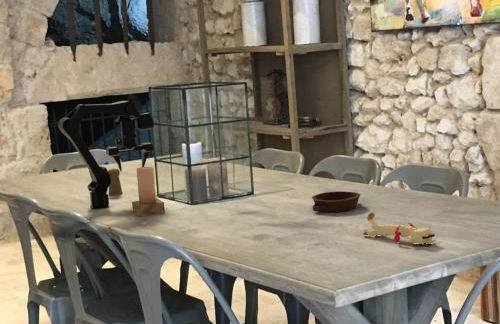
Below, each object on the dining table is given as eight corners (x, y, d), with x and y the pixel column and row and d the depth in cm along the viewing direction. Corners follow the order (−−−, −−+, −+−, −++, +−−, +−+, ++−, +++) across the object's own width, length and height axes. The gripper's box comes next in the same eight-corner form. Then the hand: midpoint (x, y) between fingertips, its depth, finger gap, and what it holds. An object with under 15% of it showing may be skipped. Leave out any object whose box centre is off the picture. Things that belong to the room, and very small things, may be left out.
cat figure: (359, 243, 274) (423, 248, 255) (356, 215, 273) (419, 218, 254) (380, 236, 280) (444, 241, 261) (377, 209, 279) (441, 212, 260)
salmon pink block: (141, 204, 331) (138, 170, 329) (137, 201, 337) (134, 168, 335) (157, 202, 333) (155, 168, 331) (153, 199, 339) (151, 166, 337)
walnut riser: (139, 216, 330) (138, 206, 329) (132, 211, 339) (131, 201, 338) (164, 212, 333) (163, 202, 332) (157, 208, 342) (156, 198, 342)
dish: (374, 205, 321) (374, 192, 320) (334, 217, 306) (333, 203, 306) (338, 200, 334) (338, 188, 333) (298, 212, 319) (297, 198, 318)
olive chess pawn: (119, 195, 376) (117, 169, 374) (106, 195, 377) (104, 170, 376) (124, 192, 382) (122, 167, 380) (111, 192, 383) (109, 168, 381)
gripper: (145, 127, 367) (149, 164, 369) (101, 132, 360) (105, 170, 362) (152, 130, 356) (156, 168, 359) (107, 135, 350) (111, 173, 352)
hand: (131, 169), depth 358 cm, fingers open, 9 cm apart
